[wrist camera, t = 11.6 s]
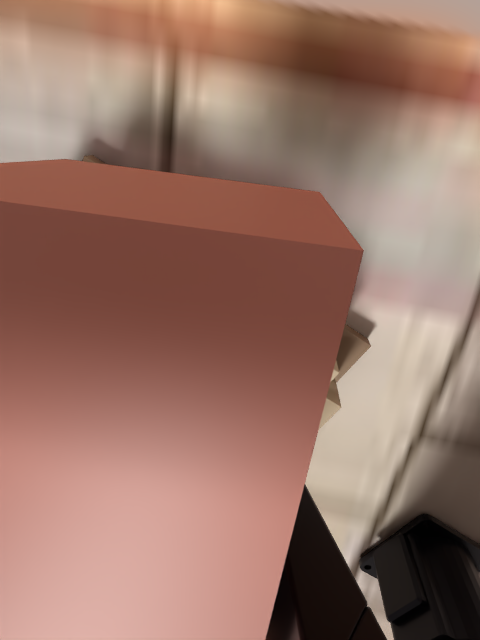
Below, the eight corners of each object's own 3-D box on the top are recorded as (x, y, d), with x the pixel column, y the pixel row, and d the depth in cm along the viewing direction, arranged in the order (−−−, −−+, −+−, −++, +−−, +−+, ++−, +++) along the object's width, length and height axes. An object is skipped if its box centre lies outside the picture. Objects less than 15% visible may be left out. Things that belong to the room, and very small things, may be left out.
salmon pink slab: (245, 580, 12) (226, 794, 8) (94, 552, 13) (4, 747, 9) (320, 191, 7) (363, 250, 3) (65, 159, 8) (-192, 175, 3)
